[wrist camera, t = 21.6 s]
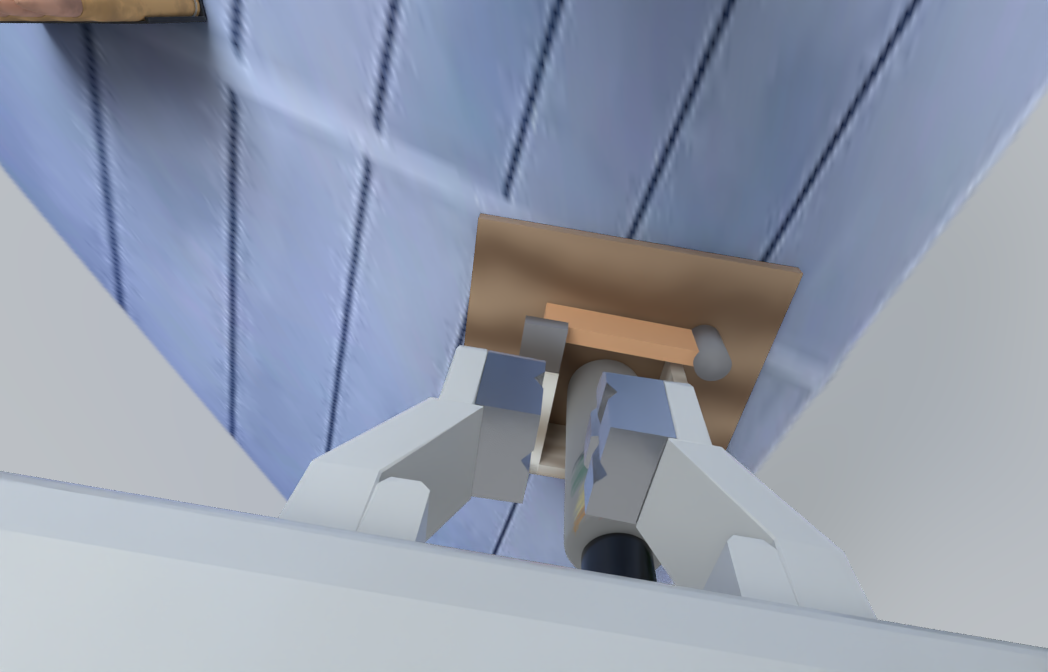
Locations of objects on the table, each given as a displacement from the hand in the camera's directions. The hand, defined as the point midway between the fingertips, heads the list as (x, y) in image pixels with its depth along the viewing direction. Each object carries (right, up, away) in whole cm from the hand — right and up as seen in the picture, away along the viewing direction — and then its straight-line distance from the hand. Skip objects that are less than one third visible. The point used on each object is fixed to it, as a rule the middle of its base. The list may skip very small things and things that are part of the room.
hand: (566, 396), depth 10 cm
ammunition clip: (-25, +21, +24) cm, 41 cm away
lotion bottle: (+5, -3, +34) cm, 34 cm away
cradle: (+6, -1, +34) cm, 34 cm away
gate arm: (+7, +2, +31) cm, 31 cm away
